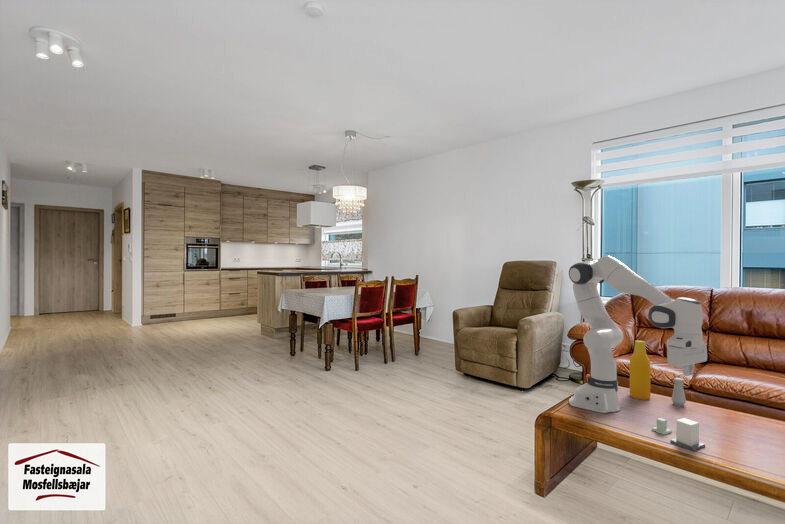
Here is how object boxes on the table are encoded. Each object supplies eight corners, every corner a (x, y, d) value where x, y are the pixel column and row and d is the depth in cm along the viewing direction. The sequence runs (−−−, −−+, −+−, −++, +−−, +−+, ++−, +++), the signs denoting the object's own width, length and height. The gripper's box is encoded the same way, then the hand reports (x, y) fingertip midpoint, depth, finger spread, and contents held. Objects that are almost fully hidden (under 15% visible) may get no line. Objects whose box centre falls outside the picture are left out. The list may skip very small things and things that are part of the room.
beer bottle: (653, 397, 206) (654, 341, 205) (644, 401, 201) (644, 343, 200) (635, 392, 213) (635, 338, 213) (625, 395, 209) (626, 340, 208)
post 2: (693, 451, 150) (693, 432, 150) (670, 442, 157) (670, 424, 157) (705, 446, 153) (705, 428, 153) (682, 438, 160) (682, 420, 160)
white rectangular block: (691, 446, 152) (691, 425, 152) (676, 440, 156) (676, 420, 156) (698, 443, 154) (698, 422, 154) (684, 437, 159) (684, 417, 158)
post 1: (664, 434, 163) (664, 422, 163) (651, 430, 168) (651, 418, 168) (671, 432, 166) (671, 420, 165) (659, 427, 170) (659, 416, 170)
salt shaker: (688, 407, 192) (688, 380, 192) (674, 406, 193) (675, 380, 193) (682, 403, 198) (682, 377, 198) (669, 402, 199) (669, 376, 199)
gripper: (694, 335, 162) (694, 369, 163) (663, 340, 153) (663, 376, 154) (712, 338, 157) (712, 373, 157) (681, 344, 148) (681, 381, 148)
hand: (687, 375), depth 155 cm, fingers closed
